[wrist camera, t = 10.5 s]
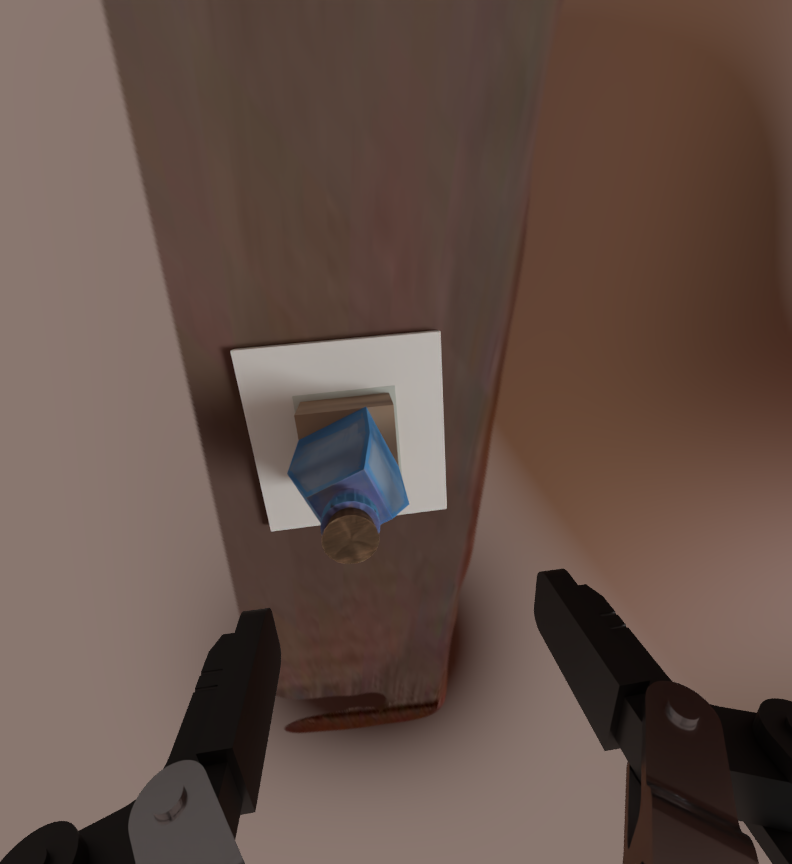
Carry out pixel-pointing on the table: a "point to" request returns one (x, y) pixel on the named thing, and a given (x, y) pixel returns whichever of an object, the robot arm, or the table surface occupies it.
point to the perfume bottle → (349, 484)
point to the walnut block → (331, 410)
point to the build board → (336, 378)
